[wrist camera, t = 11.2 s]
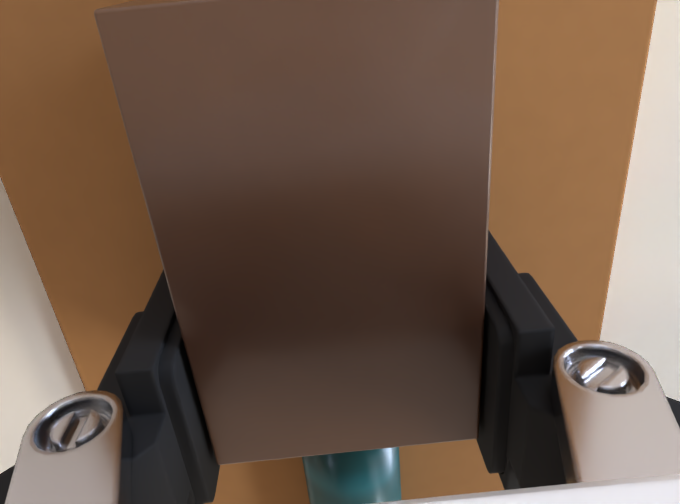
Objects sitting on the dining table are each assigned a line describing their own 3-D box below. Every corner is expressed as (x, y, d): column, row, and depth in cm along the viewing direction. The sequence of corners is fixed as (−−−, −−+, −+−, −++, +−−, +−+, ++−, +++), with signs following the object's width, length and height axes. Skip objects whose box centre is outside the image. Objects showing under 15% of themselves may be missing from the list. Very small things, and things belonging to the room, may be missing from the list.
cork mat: (-219, -467, 7) (-278, -514, 6) (717, -554, 7) (763, -612, 6) (159, 534, 16) (152, 560, 16) (558, 494, 16) (569, 517, 16)
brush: (165, -8, 9) (90, 10, 6) (435, -34, 9) (502, -31, 6) (303, 639, 18) (302, 779, 15) (437, 625, 18) (464, 763, 15)
